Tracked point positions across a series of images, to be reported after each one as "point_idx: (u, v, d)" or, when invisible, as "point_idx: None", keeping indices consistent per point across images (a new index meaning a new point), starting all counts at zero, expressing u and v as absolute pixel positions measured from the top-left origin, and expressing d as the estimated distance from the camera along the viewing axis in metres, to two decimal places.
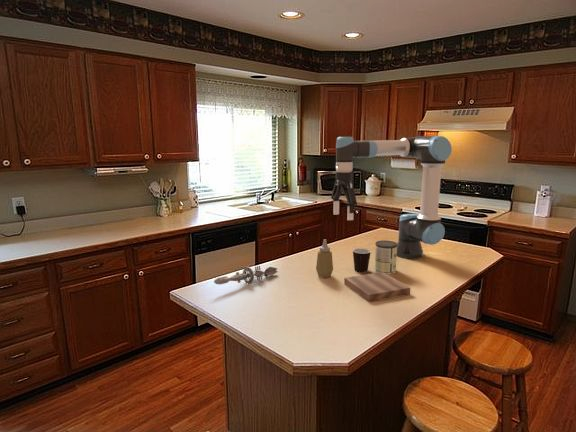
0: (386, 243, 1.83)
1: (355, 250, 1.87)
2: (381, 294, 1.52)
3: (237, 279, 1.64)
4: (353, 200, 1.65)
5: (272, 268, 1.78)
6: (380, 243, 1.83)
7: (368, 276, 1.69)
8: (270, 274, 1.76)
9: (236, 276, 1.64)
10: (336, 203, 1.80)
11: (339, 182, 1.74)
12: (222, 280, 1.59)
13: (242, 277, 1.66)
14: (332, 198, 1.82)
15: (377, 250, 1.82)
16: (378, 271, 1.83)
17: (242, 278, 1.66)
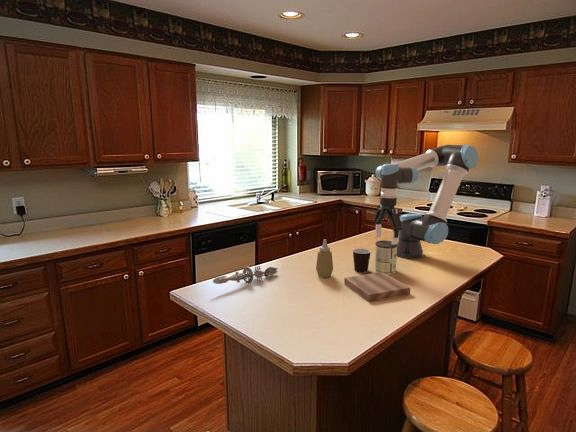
0: (386, 243, 1.83)
1: (355, 250, 1.87)
2: (381, 294, 1.52)
3: (236, 279, 1.65)
4: (399, 225, 1.72)
5: (272, 268, 1.78)
6: (380, 243, 1.83)
7: (368, 276, 1.69)
8: (270, 274, 1.76)
9: (235, 276, 1.65)
10: (378, 226, 1.87)
11: (383, 207, 1.81)
12: (221, 280, 1.60)
13: (241, 277, 1.66)
14: (374, 221, 1.89)
15: (377, 250, 1.82)
16: (378, 271, 1.83)
17: (241, 278, 1.67)
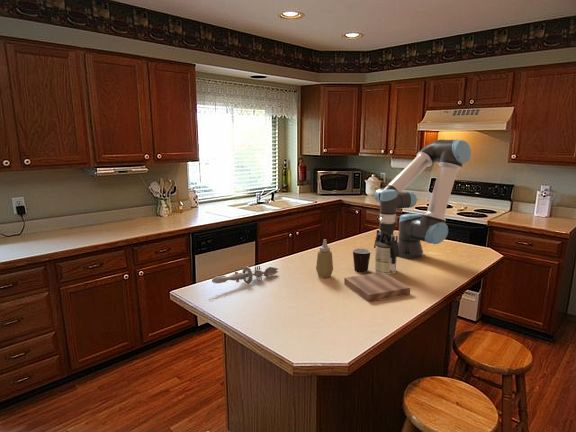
0: (386, 243, 1.83)
1: (355, 250, 1.87)
2: (381, 294, 1.52)
3: (235, 278, 1.65)
4: (396, 252, 1.76)
5: (272, 268, 1.78)
6: (380, 243, 1.83)
7: (368, 276, 1.69)
8: (270, 274, 1.76)
9: (234, 275, 1.65)
10: None
11: (382, 231, 1.83)
12: (220, 279, 1.60)
13: (241, 277, 1.67)
14: (375, 247, 1.90)
15: (377, 250, 1.82)
16: (378, 271, 1.83)
17: (241, 278, 1.67)
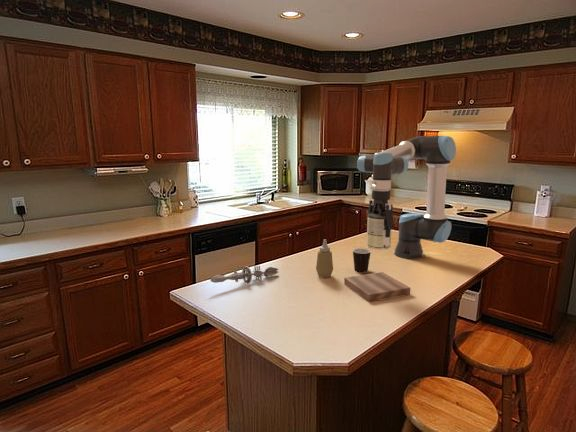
0: (380, 214, 1.60)
1: (355, 250, 1.87)
2: (381, 294, 1.52)
3: (234, 278, 1.66)
4: (390, 224, 1.53)
5: (272, 268, 1.78)
6: (373, 214, 1.60)
7: (368, 276, 1.69)
8: (270, 274, 1.76)
9: (233, 275, 1.66)
10: None
11: (375, 201, 1.60)
12: (218, 278, 1.61)
13: (240, 276, 1.67)
14: None
15: (369, 222, 1.59)
16: (370, 246, 1.60)
17: (240, 277, 1.67)
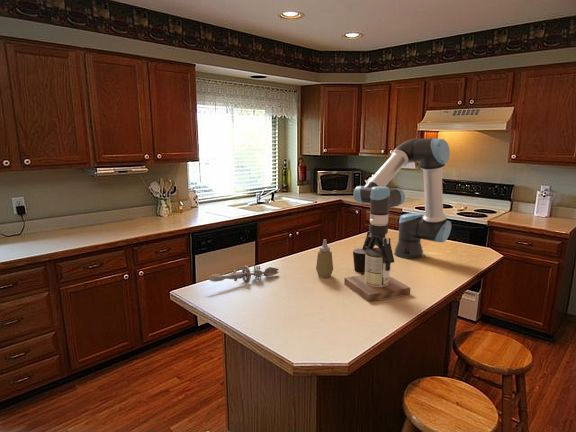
0: (378, 251, 1.60)
1: (355, 250, 1.87)
2: (381, 294, 1.52)
3: (233, 277, 1.66)
4: (390, 257, 1.51)
5: (273, 268, 1.78)
6: (370, 251, 1.60)
7: None
8: (270, 274, 1.76)
9: (232, 274, 1.66)
10: None
11: (373, 235, 1.60)
12: (217, 277, 1.62)
13: (239, 276, 1.68)
14: (364, 249, 1.68)
15: (367, 259, 1.59)
16: (368, 283, 1.60)
17: (239, 277, 1.68)
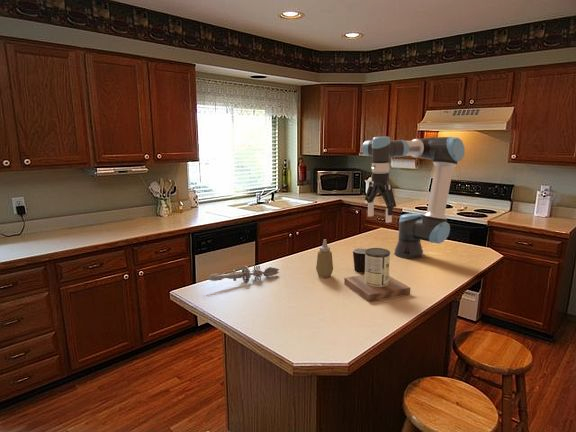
0: (378, 251, 1.60)
1: (355, 250, 1.87)
2: (381, 294, 1.52)
3: (232, 277, 1.67)
4: (392, 202, 1.61)
5: (273, 269, 1.78)
6: (370, 251, 1.60)
7: None
8: (270, 274, 1.76)
9: (231, 274, 1.67)
10: (371, 205, 1.76)
11: (375, 183, 1.69)
12: (216, 277, 1.63)
13: (238, 275, 1.68)
14: (366, 199, 1.77)
15: (367, 259, 1.59)
16: (368, 283, 1.60)
17: (238, 276, 1.68)
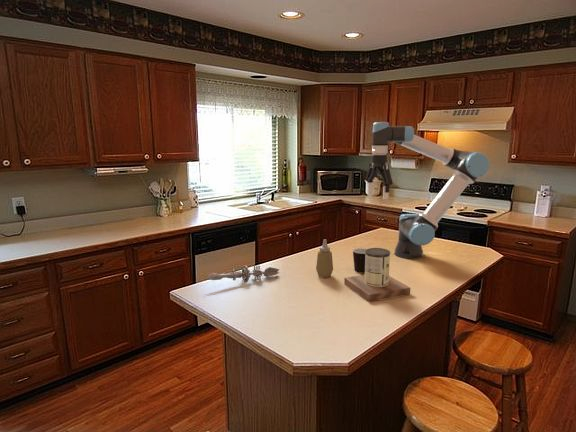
0: (378, 251, 1.60)
1: (355, 250, 1.87)
2: (381, 294, 1.52)
3: (232, 276, 1.67)
4: (389, 180, 1.79)
5: (273, 269, 1.77)
6: (370, 251, 1.60)
7: None
8: (269, 275, 1.76)
9: (231, 273, 1.67)
10: (370, 184, 1.95)
11: (374, 164, 1.88)
12: (215, 276, 1.64)
13: (237, 275, 1.69)
14: (366, 180, 1.97)
15: (367, 259, 1.59)
16: (368, 283, 1.60)
17: (237, 276, 1.69)
